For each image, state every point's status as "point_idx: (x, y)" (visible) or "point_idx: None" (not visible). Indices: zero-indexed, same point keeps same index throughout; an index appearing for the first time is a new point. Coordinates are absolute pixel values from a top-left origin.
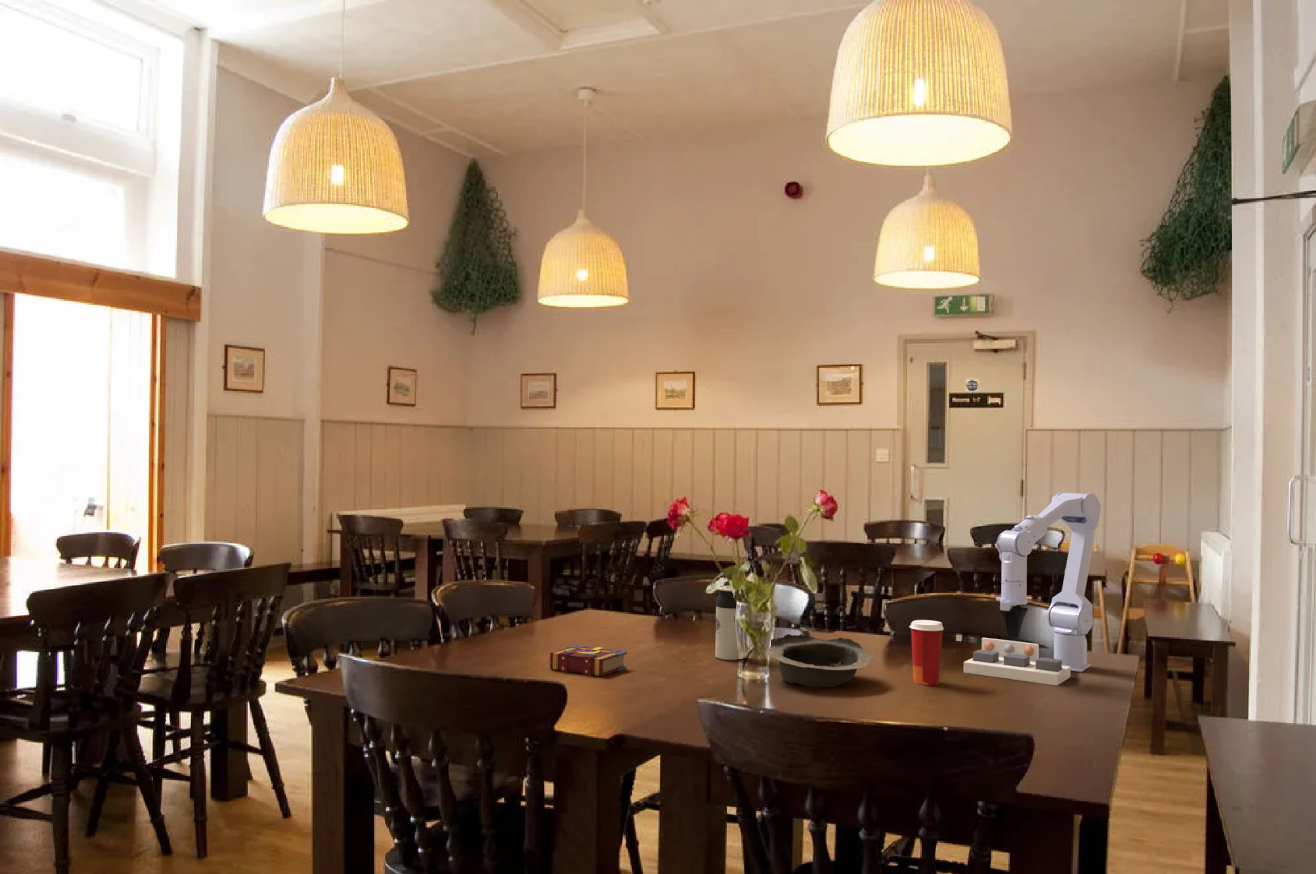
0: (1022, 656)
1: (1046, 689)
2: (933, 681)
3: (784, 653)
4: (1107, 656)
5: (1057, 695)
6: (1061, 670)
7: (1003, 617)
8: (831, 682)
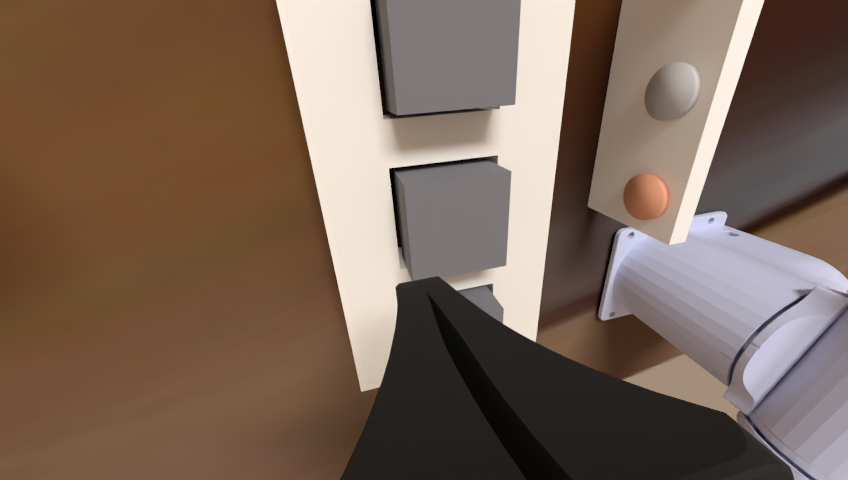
0: (468, 252)
1: (272, 370)
2: None
3: None
4: (837, 260)
5: (215, 423)
6: None
7: (361, 435)
8: None
